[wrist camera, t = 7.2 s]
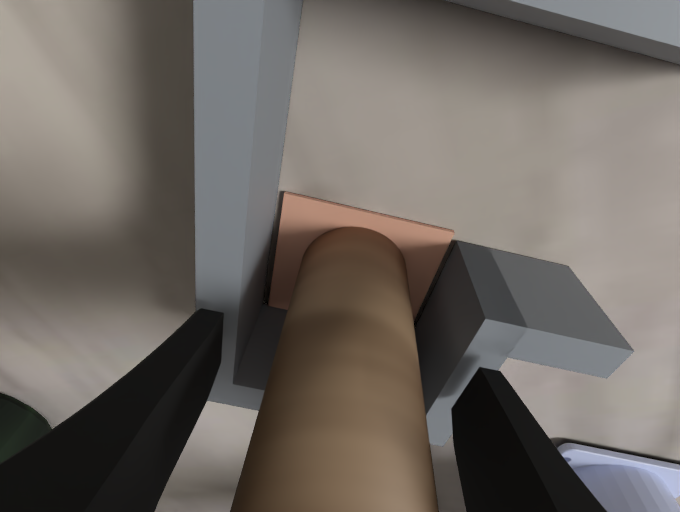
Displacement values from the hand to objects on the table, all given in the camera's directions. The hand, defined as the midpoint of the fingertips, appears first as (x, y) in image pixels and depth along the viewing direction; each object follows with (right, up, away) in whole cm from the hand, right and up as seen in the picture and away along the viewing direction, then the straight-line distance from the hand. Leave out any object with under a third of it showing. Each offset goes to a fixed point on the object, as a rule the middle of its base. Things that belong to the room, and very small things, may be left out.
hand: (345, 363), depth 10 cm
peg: (0, +2, +4) cm, 4 cm away
